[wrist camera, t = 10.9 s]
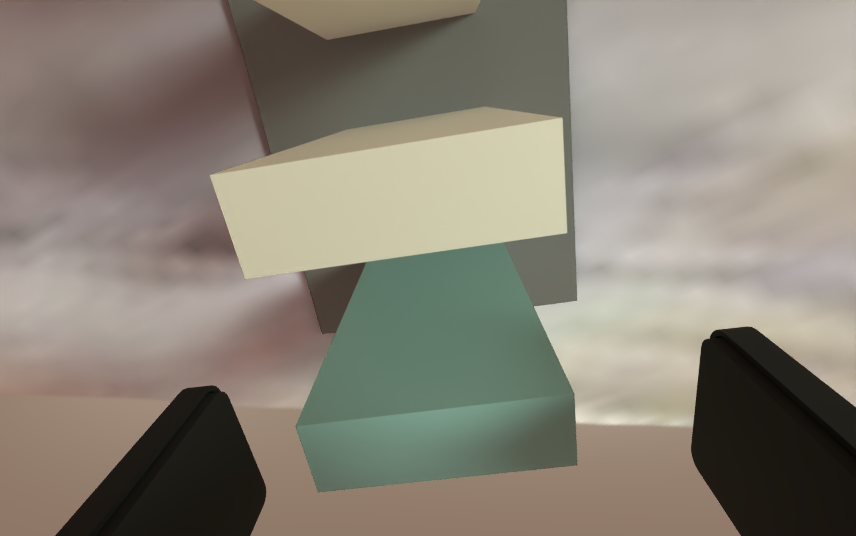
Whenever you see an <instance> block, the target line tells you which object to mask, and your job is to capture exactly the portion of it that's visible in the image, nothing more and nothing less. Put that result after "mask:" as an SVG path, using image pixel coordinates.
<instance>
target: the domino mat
mask: <svg viewBox="0 0 856 536" xmlns="http://www.w3.org/2000/svg"><path fill="white" fill-rule="evenodd" d="M228 4H229V7H230V11H231V14H232V18H233V21H234V25H235V28H236V32H237V35H238V39H239V42H240V46H241V49H242V53H243V57H244V60H245V64H246V67H247V71H248V74H249V78H250V81H251V85H252V88H253V92H254V95H255V99H256V102H257V106H258V109H259V113H260V116H261V120H262V124H263V127H264V131H265V134H266V138H267V141H268V145H269V148H270V152H271V155H272V154H275V153H278V152H281V151H284V150H287V149H290V148H293V147H296V146H299V145H302V144H305V143H308V142H311V141H314V140H317V139H320V138H323V137H326V136H329V135H332V134H335V133H338V132H341V131H344V130H347V129H353V128H359V127H365V126H371V125H377V124H383V123H389V122H395V121H401V120H407V119H413V118H419V117H425V116H431V115H437V114H443V113H449V112H455V111H461V110H467V109H473V108H479V107H492V108H499V109H506V110H512V111H519V112H526V113H533V114H540V115H547V116H554V117H561V118H563V142H564V166H565V190H566V214H567V233H565V234H558V235H551V236H544V237H537V238H530V239H523V240H516V241H509V242H504V245H505V247H506V249H507V251H508V253H509V255H510V257H511V260H512V262H513V264H514V266H515V268H516V270H517V272H518V275H519V277H520V279H521V281H522V283H523V285H524V287H525V289H526V292H527V294H528V296H529V298H530V300H531V302H532V304H533V306H540V305H547V304H555V303H562V302H570V301H577V284H576V256H575V227H574V199H573V170H572V142H571V113H570V84H569V56H568V27H567V0H481V1H480V3H479V5H478V7H477V10H476V12H475V13H471V14H466V15H460V16H455V17H450V18H444V19H439V20H433V21H428V22H422V23H417V24H411V25H406V26H401V27H395V28H390V29H384V30H379V31H373V32H368V33H363V34H357V35H352V36H346V37H341V38H335V39H330V40H326V39H324V38H322V37H321V36H319V35H317V34H315V33H313V32H311V31H310V30H308V29H306V28H304V27H302V26H300V25H299V24H297V23H295V22H293V21H291V20H289V19H288V18H286V17H284V16H282V15H280V14H278V13H277V12H275V11H273V10H271V9H269V8H267V7H265V6H264V5H262V4H260V3H258V2H256V1H254V0H228ZM365 264H366V262H362V263H355V264H348V265H341V266H334V267H327V268H320V269H313V270H306V271H304V272H305V275H306V279H307V282H308V286H309V289H310V293H311V296H312V300H313V303H314V307H315V311H316V314H317V318H318V321H319V325H320V328H321V332H322V334H326V333H334V332H336V331H337V329H338V327H339V325H340V322H341V320H342V318H343V315H344V313H345V311H346V308H347V306H348V304H349V301H350V299H351V297H352V294H353V292H354V290H355V288H356V285H357V283H358V281H359V278H360V276H361V274H362V271H363V269H364V267H365Z"/></svg>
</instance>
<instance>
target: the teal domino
mask: <svg viewBox="0 0 856 536" xmlns="http://www.w3.org/2000/svg"><path fill="white" fill-rule="evenodd" d="M296 429H297V432H298V435H299V438H300V441H301V444H302V447H303V449H304V453H305V456H306V459H307V461H308V464H309V467H310V470H311V473H312V476H313V479H314V482H315V485H316V488H317V490H318V492H326V491H336V490H345V489H355V488H363V487H364V488H365V487H374V486H384V485H393V484H402V483H412V482H421V481H431V480H441V479H449V478H460V477H469V476H479V475H488V474H497V473H507V472H517V471H527V470H536V469H545V468H555V467H565V466H574V465H577V444H576V422H575V399H574V392H573V390H572V388H571V386H570V384H569V381H568V379H567V377H566V375H565V373H564V371H563V369H562V366H561V364H560V362H559V360H558V358H557V356H556V354H555V351H554V349H553V347H552V345H551V343H550V341H549V339H548V337H547V334H546V332H545V330H544V328H543V326H542V324H541V322H540V319H539V317H538V315H537V313H536V311H535V309H534V307H533V304H532V302H531V300H530V298H529V296H528V294H527V292H526V289H525V287H524V285H523V283H522V281H521V279H520V277H519V275H518V272H517V270H516V268H515V266H514V264H513V262H512V260H511V257H510V255H509V253H508V251H507V249H506V247H505V245H504V242H502V243H495V244H488V245H481V246H474V247H467V248H460V249H453V250H446V251H439V252H432V253H425V254H418V255H411V256H404V257H397V258H390V259H383V260H376V261H369V262H366V264H365V267H364V269H363V271H362V274H361V276H360V278H359V281H358V283H357V285H356V288H355V290H354V292H353V294H352V297H351V299H350V301H349V304H348V306H347V308H346V311H345V313H344V315H343V318H342V320H341V322H340V325H339V327H338V329H337V331H336V334H335V336H334V338H333V341H332V343H331V345H330V348H329V350H328V352H327V355H326V357H325V359H324V362H323V364H322V366H321V369H320V371H319V373H318V375H317V378H316V380H315V382H314V385H313V387H312V389H311V392H310V394H309V396H308V399H307V401H306V403H305V406H304V408H303V410H302V412H301V415H300V417H299V420H298V422H297V424H296Z"/></svg>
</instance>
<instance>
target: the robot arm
mask: <svg viewBox="0 0 856 536" xmlns="http://www.w3.org/2000/svg"><path fill="white" fill-rule="evenodd" d="M691 452H692V457H693V460H694V463H695V465H696V467H697V469H698V471H699V472H700V474H701V475H702V476H703V479H704V480H705V482H706V483H707V485H708V486H709V487H710V489H711V491H712V492H713V494H714V495H715V497H716V498H717V500H718V501H719V503H720V504H721V506H722V507H723V509H724V510H725V512H726V514H727V515H728V517H729V518H730V520H731V521H732V523H733V524H734V526H735V527H736V529H737V530H738V532H739V533H740V535H741V536H856V407H855V406H853V405H852V404H851V403H850V402H848V401H847V400H846V399H844V398H843V397H842V396H841V395H839V394H838V393H837V392H835V391H834V390H833V389H832V388H830V387H829V386H828V385H827V384H825V383H824V382H823V381H821V380H820V379H819V378H818V377H816V376H815V375H814V374H812V373H811V372H810V371H809V370H807V369H806V368H805V367H804V366H802V365H801V364H800V363H798V362H797V361H796V360H795V359H793V358H792V357H791V356H789V355H788V354H787V353H786V352H784V351H783V350H782V349H781V348H779V347H778V346H777V345H775V344H774V343H773V342H772V341H770V340H769V339H768V338H766V337H765V336H764V335H763V334H761V333H760V332H759V331H758V330H756V329H754V328H752V327H739V328H730V329H721V330H715V331H713V333H712V334H711V336H710V339H706V340H704V341H703V343H702V346H701V356H700V365H699V375H698V385H697V395H696V405H695V415H694V424H693V434H692V445H691ZM265 498H266V486H265V483H264V480H263V478H262V476H261V473H260V471H259V468H258V466H257V464H256V461H255V459H254V457H253V454H252V452H251V449H250V447H249V445H248V442H247V440H246V437H245V435H244V433H243V430H242V428H241V426H240V423H239V421H238V418H237V416H236V414H235V411H234V409H233V406H232V404H231V402H230V399H229V397H228V395H227V394H226V393H225V392H221V391H220V389H219V388H217V387H216V386H203V387H194V388H187V389H184V390H182V391H181V392H180V393H179V394H178V395H177V396H176V398H175V399H174V400H173V401H172V402H171V403H170V405H169V406H168V407H167V408H166V409H165V410H164V411H163V413H162V414H161V415H160V416H159V417H158V418H157V419H156V421H155V422H154V423H153V424H152V425H151V426H150V428H149V429H148V430H147V431H146V432H145V433H144V435H143V436H142V437H141V438H140V439H139V440H138V441H137V442H136V444H135V445H134V446H133V447H132V448H131V449H130V451H129V452H128V453H127V454H126V455H125V456H124V457H123V459H122V460H121V461H120V462H119V463H118V464H117V465H116V467H115V468H114V469H113V470H112V471H111V472H110V473H109V475H108V476H107V477H106V478H105V479H104V480H103V482H102V483H101V484H100V485H99V486H98V488H97V489H96V490H95V491H94V492H93V493H92V494H91V495H90V496H89V498H88V499H87V500H86V501H85V502H84V503H83V504H82V506H81V507H80V508H79V509H78V510H77V511H76V513H75V514H74V515H73V516H72V517H71V518H70V519H69V521H68V522H67V523H66V524H65V525H64V526H63V528H62V529H61V530H60V531H59V532H58V533H57V534H56V536H250V535H251V533H252V530H253V528H254V526H255V523H256V521H257V519H258V517H259V514H260V512H261V510H262V507H263V505H264V502H265Z"/></svg>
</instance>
